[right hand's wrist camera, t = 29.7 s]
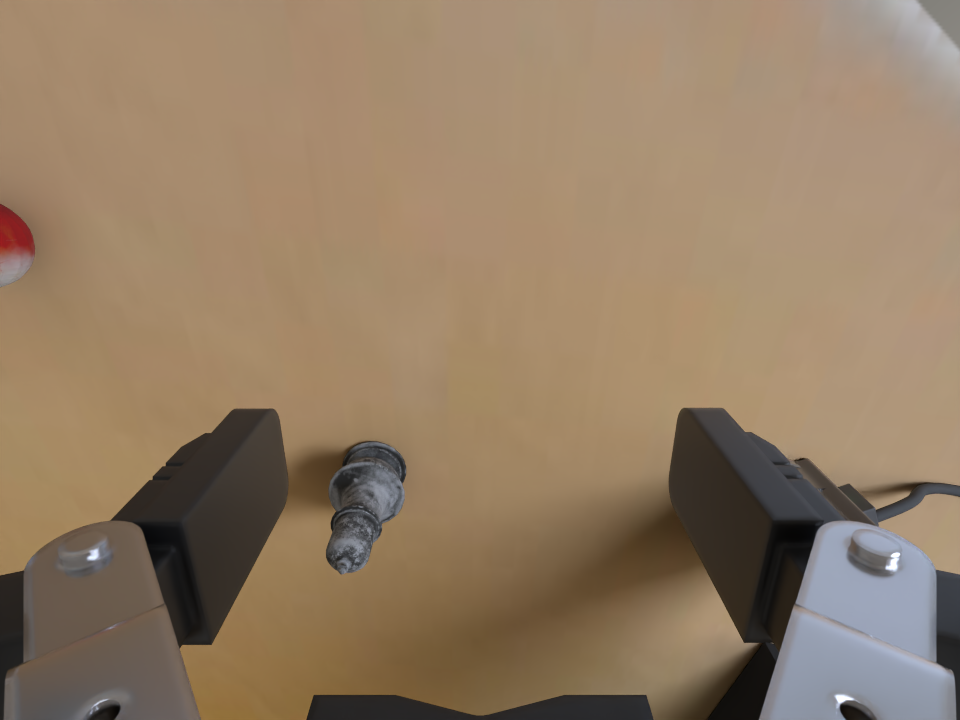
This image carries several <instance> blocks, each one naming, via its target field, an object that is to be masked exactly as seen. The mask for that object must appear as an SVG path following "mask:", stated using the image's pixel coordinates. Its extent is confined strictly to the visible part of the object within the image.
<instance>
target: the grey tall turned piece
mask: <svg viewBox="0 0 960 720" xmlns="http://www.w3.org/2000/svg"><path fill="white" fill-rule="evenodd" d="M405 476H406V465H405V462H404V459H403V458H402V456H401V455H400V453H398V452H397V451H396V450H395V449H394V448H392V447H391V446H389V445H387V444H384V443H380V442H365V443H361V444H359V445H356V446H354V447H353V448H352V449H351V450H350V451H349V452H348V453H347V455H346V456H345V458H344V461H343V467H342V468H341V469H339V470H338V471H337V472H336V473H335V474H334V476H333V477H332V479H331V481H330V485H329V498H330V501H331V504H332V506H333V507H334V508H335V510H336V511H337V512H335V514H334V515H333V517H332V520H331V530H332V535H331V538H330V540H329V543H328V546H327V549H326V558H327V561H328V562H329V564H330V565H331V566H332V567H333V568H334V569H335V570H337V571H338V572H339V573H340V574H344V573H352V572H355V571H358V570H360V569H361V568H363V567H364V566H365V564H366V563H367V561H368V559H369V556H370V552H371V548H372V544H373V542H375V541H376V540H377V539H378V538H379V536H380V534H381V531H382V523H385V522H387V521H389V520H391V519H392V518H393V517H395V516H396V515H397V514H398V512H399V511H400V510H401V508H402V505H403V502H404V488H403V485H402V483H403V482H404V479H405Z"/></svg>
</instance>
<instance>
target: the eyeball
mask: <svg viewBox="0 0 960 720" xmlns="http://www.w3.org/2000/svg"><path fill="white" fill-rule="evenodd" d="M34 256H35V246H34V241H33V237H32V234H31V232H30V229H29V228H28V226H27V225H26V223H25V222H24V221H23V220H22V219H21V218H20V217H19V216H18V215H16V214H15V213H14V212H13V211H11V210H10V209H9V208H7V207H5V206H3V205H1V204H0V287H2V286H5V285H8V284H11V283H13V282H15V281H17V280H18V279H20V278H21V277H22V276H23V275H24V274H25V273H26V272H27V271H28V269H29V268H30V267H31V265H32V263H33V260H34Z"/></svg>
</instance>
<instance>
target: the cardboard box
mask: <svg viewBox="0 0 960 720" xmlns="http://www.w3.org/2000/svg"><path fill="white" fill-rule="evenodd" d="M778 656H779V652H778V650H777V648H776V647H775V645H774V644H771V643H763V645H762V646H761V647H760V649H759V650H758V651H757V653H756V654H755V655H754V657H753V658H752V660H751V661H750V662H749V664H748V665H747V666H746V668H745V669H744V670H743V672H742V673H741V675H740V676H739V677H738V679H737V680H736V681H735V683H734V684H733V685H732V687H731V688H730V690H729V691H728V692H727V694H726V695H725V696H724V698H723V699H722V700H721V702H720V703H719V705H718V706H717V707H716V709H715V710H714V711H713V713H712V714H711V715H710V717H709V718H708V720H759V718H760V715H761V711H762V708H763V705H764V702H765V698H766V695H767V692H768V688H769V685H770V682H771V679H772V675H773V672H774V669H775V665H776V662H777V659H778Z"/></svg>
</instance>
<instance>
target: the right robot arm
mask: <svg viewBox="0 0 960 720" xmlns="http://www.w3.org/2000/svg"><path fill="white" fill-rule="evenodd" d="M669 493H670V498H671V502H672V505H673V507H674V510H675V511H676V513H677V515H678V517H679V519H680V521H681V523H682V525H683V527H684V529H685V531H686V532H687V534H688V536H689V538H690V540H691V542H692V544H693V546H694V548H695V550H696V552H697V554H698V555H699V557H700V559H701V561H702V563H703V565H704V567H705V569H706V571H707V573H708V575H709V576H710V578H711V580H712V582H713V584H714V586H715V588H716V590H717V592H718V594H719V596H720V598H721V599H722V601H723V603H724V605H725V607H726V609H727V611H728V613H729V615H730V617H731V619H732V620H733V622H734V624H735V626H736V628H737V630H738V632H739V634H740V636H741V638H742V640H743V642H744V643H774V645H775V647H776V648H777V650H778V652H779V656H778V659H777V662H776V665H775V669H774V672H773V675H772V679H771V682H770V685H769V688H768V692H767V695H766V698H765V702H764V705H763V708H762V711H761V715H760V718H759V720H960V575H959V574H954V573H949V572H944V571H939V570H936V569H935V567H934V565H933V563H932V562H931V560H930V559H929V558H928V556H927V555H925V554H924V553H923V552H922V551H921V550H920V549H919V548H918V547H916V546H915V545H914V544H912V543H911V542H909V541H907V540H906V539H904V538H902V537H900V536H899V535H897V534H894V533H892V532H890V531H888V530H885V529H882V528H880V527H879V526H878V522H881V521H883V520H886V519H888V518H891V517H894V516H896V515H899V514H901V513H903V512H906V511H908V510H910V509H912V508H913V507H915V506H916V505H918V504H919V503H920V502H921V501H922V500H923V498H924V496H925V495H928V494H948V495H954V496H959V497H960V486H956V485H950V484H941V483H929V484H921V485H918V486H917V487H916V488H914V489H913V490H912V492H911V493H910V495H909V496H908V497H906V498H904V499H902V500H900V501H898V502H895V503H893V504H890V505H888V506H885V507H883V508H880V509H877V510H875V507H873V506H872V505H871V504H870V503H869V502H868V501H867V500H866V499H865V498H864V497H863V496H862V495H861V494H860V493H859V492H857V491H856V490H855V489H854V488H853V487H852V486H851V485H850V484H846V485H843V486H840V487H837V486H836V485H835V484H834V483H833V482H832V481H831V480H830V479H829V478H828V477H827V476H826V475H825V474H824V473H823V472H822V471H820V470H819V469H818V468H817V467H816V466H815V465H814V464H813V463H812V462H811V461H810V460H809V459H803V460H800V461H792V460H789V459H787V458H786V457H785V456H784V455H783V454H782V453H781V452H780V451H779V450H778V449H777V448H776V447H775V446H774V445H772V444H771V443H769V442H767V441H765V440H764V439H762V438H760V437H759V436H757V435H755V434H753V433H752V432H744V430H743V429H742V428H741V427H740V426H739V425H738V424H737V423H736V422H735V420H734V419H733V418H732V417H731V416H730V415H729V414H728V413H727V412H726V410H724V409H723V408H683V409H682V410H681V411H680V413H679V415H678V419H677V425H676V432H675V438H674V445H673V452H672V459H671V466H670V472H669ZM287 494H288V473H287V466H286V459H285V453H284V446H283V439H282V433H281V426H280V420H279V416H278V414H277V412H276V411H275V410H274V409H234V410H232V411H231V412H230V413H229V414H228V415H227V416H226V417H225V419H224V420H223V421H222V422H221V423H220V424H219V425H218V426H217V427H216V428H215V430H214V431H213V432H212V433H205V434H203V435H201V436H200V437H198V438H196V439H194V440H193V441H191V442H189V443H187V444H186V445H184V446H182V447H181V448H180V449H179V450H178V451H177V452H176V453H175V454H174V455H173V456H172V457H171V458H170V459H169V460H168V461H167V462H166V466H163V467H162V468H161V469H160V470H159V471H158V472H157V473H156V474H155V475H154V476H153V480H149V481H148V482H147V483H146V484H145V485H144V486H143V487H142V488H141V489H140V490H139V491H138V492H137V494H136V495H135V496H134V497H133V498H132V499H131V500H130V501H129V502H128V503H127V504H126V505H125V506H124V507H123V508H122V509H121V510H120V511H119V512H118V513H117V514H116V515H115V516H114V517H113V518H112V519H111V520H110V521H105V522H99V523H94V524H90V525H87V526H83V527H80V528H78V529H75V530H72V531H70V532H68V533H66V534H63V535H61V536H60V537H58V538H56V539H54V540H53V541H51V542H49V543H48V544H46V545H45V546H44V547H42V548H41V549H40V550H39V551H38V552H37V553H36V554H35V555H33V556H32V558H31V559H30V560H29V562H28V563H27V565H26V567H25V569H24V571H20V572H15V573H10V574H5V575H0V720H201V718H200V715H199V711H198V708H197V705H196V702H195V698H194V695H193V692H192V688H191V685H190V682H189V679H188V675H187V672H186V669H185V665H184V662H183V659H182V656H181V652H180V648H181V646H182V645H212V643H213V641H214V639H215V637H216V635H217V634H218V632H219V630H220V628H221V626H222V624H223V622H224V620H225V618H226V617H227V615H228V613H229V611H230V609H231V607H232V605H233V603H234V601H235V600H236V598H237V596H238V594H239V592H240V590H241V588H242V586H243V584H244V583H245V581H246V579H247V577H248V575H249V573H250V571H251V569H252V567H253V565H254V564H255V562H256V560H257V558H258V556H259V554H260V552H261V550H262V548H263V547H264V545H265V543H266V541H267V539H268V537H269V535H270V533H271V531H272V530H273V528H274V526H275V524H276V522H277V520H278V518H279V516H280V514H281V513H282V511H283V509H284V506H285V503H286V500H287ZM307 720H653V716H652V713H651V710H650V706H649V703H648V699H647V696H646V695H563V696H559V697H555V698H551V699H547V700H544V701H540V702H536V703H532V704H528V705H524V706H520V707H517V708H513V709H509V710H505V711H501V712H497V713H493V714H489V715H484V716H476V715H471V714H467V713H463V712H459V711H455V710H451V709H447V708H443V707H440V706H436V705H432V704H428V703H424V702H420V701H416V700H413V699H409V698H405V697H401V696H397V695H314V696H313V699H312V703H311V706H310V710H309V713H308V716H307Z"/></svg>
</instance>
